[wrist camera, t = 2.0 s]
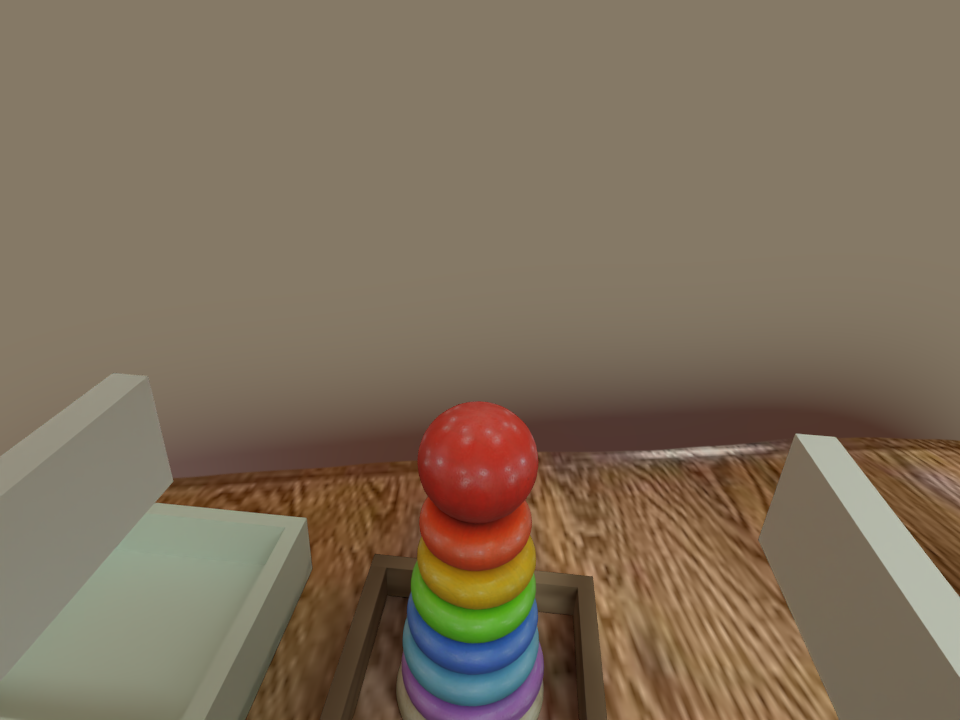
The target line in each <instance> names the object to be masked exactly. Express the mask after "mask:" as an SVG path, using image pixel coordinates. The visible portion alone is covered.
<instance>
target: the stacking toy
mask: <svg viewBox="0 0 960 720" xmlns="http://www.w3.org/2000/svg"><path fill="white" fill-rule="evenodd" d="M537 470H538V453H537V449H536V444H535V441H534V439H533V437H532V434H531V433H530V431H529V429H528V427H527V426H526V425H525V423H524V422H523V421H522V420H521V419H520V418H519V417H518V416H516V415H515V414H514V413H513V412H511V411H510V410H508V409H506V408H504V407H502V406H500V405H497V404H493V403H489V402H480V401H477V402H466V403H462V404H458V405H456V406H454V407H452V408H450V409H448V410H446V411H445V412H443V413H442V414H440V415H439V416H438V417H437V418H436V419H435V420H434V421H433V422H432V423H431V425H430V426H429V427H428V429H427V430H426V432H425V433H424V436H423V438H422V441H421V444H420V447H419V452H418V471H419V476H420V480H421V483H422V486H423V488H424V490H425V492H426V494H427V495H428V497H427V499H426V500H425V502H424V504H423V506H422V509H421V513H420V522H419V525H420V532H421V539H420V541H419V545H418V551H417V562H416V564H415V566H414V568H413V572H412V577H411V593H410V596H409V600H408V605H407V618H406V621H405V625H404V630H403V655H402V662H401V664H400V667H399V671H398V675H397V684H396V693H397V702H398V707H399V710H400V713H401V716H402V718H403V720H537V718H538V716H539V713H540V710H541V706H542V701H543V672H544V660H543V653H542V649H541V646H540V643H539V633H538V628H537V622H538V609H537V603H536V599H535V593H536V580H535V575H534V570H535V566H536V552H535V547H534V543H533V541H532V538H531V536H530V532H531V527H532V519H531V513H530V509H529V507H528V504H527V502H526V500H525V499H526V498H527V496H528V495H529V493H530V492H531V490H532V488H533V485H534V483H535V480H536V476H537Z"/></svg>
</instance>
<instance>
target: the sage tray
mask: <svg viewBox="0 0 960 720" xmlns="http://www.w3.org/2000/svg"><path fill="white" fill-rule="evenodd" d="M311 571H312V561H311V552H310V544H309V535H308V526H307V518H301V517H291V516H281V515H271V514H261V513H251V512H242V511H232V510H222V509H212V508H202V507H192V506H182V505H172V504H162V503H154V504H153V505H152V506H151V508H150V509H149V510H148V511H147V512H146V513H145V515H144V516H143V517H142V518H141V519H140V520H139V522H138V523H137V524H136V525H135V526H134V527H133V528H132V530H131V531H130V532H129V533H128V534H127V535H126V537H125V538H124V539H123V540H122V541H121V542H120V544H119V545H118V546H117V547H116V548H115V549H114V550H113V552H112V553H111V554H110V555H109V556H108V557H107V559H106V560H105V561H104V562H103V563H102V564H101V565H100V567H99V568H98V569H97V570H96V571H95V572H94V574H93V575H92V576H91V577H90V578H89V579H88V581H87V582H86V583H85V584H84V585H83V586H82V587H81V589H80V590H79V591H78V592H77V593H76V594H75V596H74V597H73V598H72V599H71V600H70V601H69V603H68V604H67V605H66V606H65V607H64V608H63V609H62V611H61V612H60V613H59V614H58V615H57V616H56V618H55V619H54V620H53V621H52V622H51V623H50V625H49V626H48V627H47V628H46V629H45V630H44V631H43V633H42V634H41V635H40V636H39V637H38V638H37V640H36V641H35V642H34V643H33V644H32V645H31V646H30V648H29V649H28V650H27V651H26V652H25V653H24V655H23V656H22V657H21V658H20V659H19V660H18V662H17V663H16V664H15V665H14V666H13V667H12V668H11V670H10V671H9V672H8V673H7V674H6V675H5V677H4V678H3V679H2V680H1V681H0V720H245V719H246V717H247V715H248V713H249V710H250V708H251V706H252V704H253V701H254V699H255V697H256V695H257V692H258V690H259V688H260V686H261V683H262V681H263V679H264V677H265V674H266V672H267V670H268V668H269V665H270V663H271V661H272V659H273V656H274V654H275V652H276V650H277V647H278V645H279V643H280V641H281V638H282V636H283V634H284V632H285V629H286V627H287V625H288V623H289V620H290V618H291V616H292V614H293V611H294V609H295V607H296V605H297V602H298V600H299V598H300V596H301V593H302V591H303V589H304V587H305V584H306V582H307V580H308V578H309V575H310V573H311Z"/></svg>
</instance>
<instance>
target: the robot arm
mask: <svg viewBox="0 0 960 720" xmlns="http://www.w3.org/2000/svg"><path fill="white" fill-rule="evenodd" d="M172 482H173V478H172V474H171V470H170V466H169V462H168V458H167V453H166V449H165V445H164V441H163V437H162V432H161V428H160V424H159V420H158V416H157V412H156V407H155V403H154V399H153V395H152V390H151V387H150V382H149V378H148V376H140V375H129V374H117V373H112V374H111V375H110V376H108V377H107V378H105V379H104V380H103V381H102V382H100V383H99V384H97V385H96V386H95V387H93V388H92V389H91V390H89V391H88V392H87V393H85V394H84V395H83V396H81V397H80V398H78V399H77V400H76V401H75V402H73V403H72V404H71V405H69V406H68V407H67V408H65V409H64V410H62V411H61V412H60V413H58V414H57V415H56V416H54V417H53V418H52V419H50V420H49V421H47V422H46V423H45V424H43V425H42V426H41V427H40V428H38V429H37V430H35V431H34V432H33V433H32V434H30V435H29V436H27V437H26V438H25V439H23V440H22V441H21V442H19V443H18V444H16V445H15V446H14V447H12V448H11V449H10V450H8V451H7V452H6V453H5V454H3V455H2V456H0V681H1V680H2V679H3V678H4V677H5V675H6V674H7V673H8V672H9V671H10V670H11V668H12V667H13V666H14V665H15V664H16V663H17V662H18V660H19V659H20V658H21V657H22V656H23V655H24V653H25V652H26V651H27V650H28V649H29V648H30V646H31V645H32V644H33V643H34V642H35V641H36V640H37V638H38V637H39V636H40V635H41V634H42V633H43V631H44V630H45V629H46V628H47V627H48V626H49V625H50V623H51V622H52V621H53V620H54V619H55V618H56V616H57V615H58V614H59V613H60V612H61V611H62V609H63V608H64V607H65V606H66V605H67V604H68V603H69V601H70V600H71V599H72V598H73V597H74V596H75V594H76V593H77V592H78V591H79V590H80V589H81V587H82V586H83V585H84V584H85V583H86V582H87V581H88V579H89V578H90V577H91V576H92V575H93V574H94V572H95V571H96V570H97V569H98V568H99V567H100V565H101V564H102V563H103V562H104V561H105V560H106V559H107V557H108V556H109V555H110V554H111V553H112V552H113V550H114V549H115V548H116V547H117V546H118V545H119V544H120V542H121V541H122V540H123V539H124V538H125V537H126V535H127V534H128V533H129V532H130V531H131V530H132V528H133V527H134V526H135V525H136V524H137V523H138V522H139V520H140V519H141V518H142V517H143V516H144V515H145V513H146V512H147V511H148V510H149V509H150V508H151V506H152V505H153V504H154V503H155V502H156V501H157V500H158V498H159V497H160V496H161V495H162V494H163V493H164V491H165V490H166V489H167V488H168V487H169V486H170V484H171V483H172ZM758 540H759V542H760V544H761V547H762V549H763V551H764V553H765V555H766V558H767V560H768V562H769V564H770V567H771V569H772V571H773V573H774V575H775V578H776V580H777V582H778V584H779V587H780V589H781V591H782V593H783V595H784V598H785V600H786V602H787V604H788V607H789V609H790V611H791V613H792V615H793V618H794V620H795V622H796V624H797V627H798V629H799V631H800V633H801V635H802V638H803V640H804V642H805V644H806V647H807V649H808V651H809V653H810V656H811V658H812V660H813V662H814V664H815V667H816V669H817V671H818V673H819V676H820V678H821V680H822V682H823V684H824V687H825V689H826V691H827V693H828V696H829V698H830V700H831V702H832V704H833V707H834V709H835V711H836V713H837V716H838V718H839V720H960V597H959V596H958V594H957V593H956V592H955V591H954V589H953V588H952V587H951V585H950V584H949V583H948V582H947V580H946V579H945V578H944V576H943V575H942V574H941V572H940V571H939V570H938V569H937V567H936V566H935V565H934V563H933V562H932V561H931V560H930V558H929V557H928V556H927V554H926V553H925V552H924V550H923V549H922V548H921V547H920V545H919V544H918V543H917V541H916V540H915V539H914V538H913V536H912V535H911V534H910V532H909V531H908V530H907V529H906V527H905V526H904V525H903V523H902V522H901V521H900V519H899V518H898V517H897V516H896V514H895V513H894V512H893V510H892V509H891V508H890V507H889V505H888V504H887V503H886V501H885V500H884V499H883V497H882V496H881V495H880V494H879V492H878V491H877V490H876V488H875V487H874V486H873V485H872V483H871V482H870V481H869V479H868V478H867V477H866V475H865V474H864V473H863V472H862V470H861V469H860V468H859V466H858V465H857V464H856V463H855V461H854V460H853V459H852V457H851V456H850V455H849V453H848V452H847V451H846V450H845V448H844V447H843V446H842V444H841V443H840V442H839V441H838V439H837V438H836V437H827V436H817V435H806V434H805V435H804V434H795V436H794V439H793V442H792V445H791V448H790V450H789V453H788V456H787V459H786V462H785V465H784V468H783V470H782V473H781V476H780V479H779V482H778V485H777V488H776V490H775V493H774V496H773V499H772V502H771V505H770V508H769V510H768V513H767V516H766V519H765V522H764V525H763V527H762V530H761V533H760V536H759V539H758Z"/></svg>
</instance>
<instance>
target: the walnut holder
mask: <svg viewBox="0 0 960 720" xmlns="http://www.w3.org/2000/svg"><path fill="white" fill-rule="evenodd" d="M416 562H417V558H409V557H399V556H390V555H380V554H375V555H374V558H373V561H372V564H371V567H370V570H369V573H368V576H367V579H366V582H365V585H364V588H363V591H362V594H361V597H360V600H359V603H358V606H357V609H356V612H355V615H354V618H353V621H352V624H351V627H350V630H349V633H348V636H347V639H346V642H345V645H344V648H343V651H342V654H341V657H340V660H339V663H338V666H337V669H336V672H335V675H334V678H333V681H332V684H331V687H330V690H329V693H328V696H327V699H326V702H325V705H324V708H323V711H322V714H321V717H320V720H352V718H353V715H354V711H355V708H356V704H357V701H358V697H359V694H360V690H361V687H362V683H363V680H364V676H365V672H366V669H367V665H368V662H369V658H370V655H371V651H372V648H373V644H374V641H375V637H376V634H377V630H378V627H379V623H380V620H381V616H382V613H383V609H384V606H385V602H386V599H387V595H389V596H398V597H407V598H409V596H410V593H411V577H412V572H413V568H414V566H415V564H416ZM534 575H535V580H536V593H535V599H536V603H537V609H538V612H546V613H556V614H565V615H573V624H574V641H575V659H576V676H577V693H578V710H579V720H607V713H606V703H605V693H604V683H603V673H602V663H601V653H600V643H599V633H598V623H597V613H596V603H595V593H594V583H593V577H592V576H582V575H573V574H563V573H554V572H544V571H534Z"/></svg>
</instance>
